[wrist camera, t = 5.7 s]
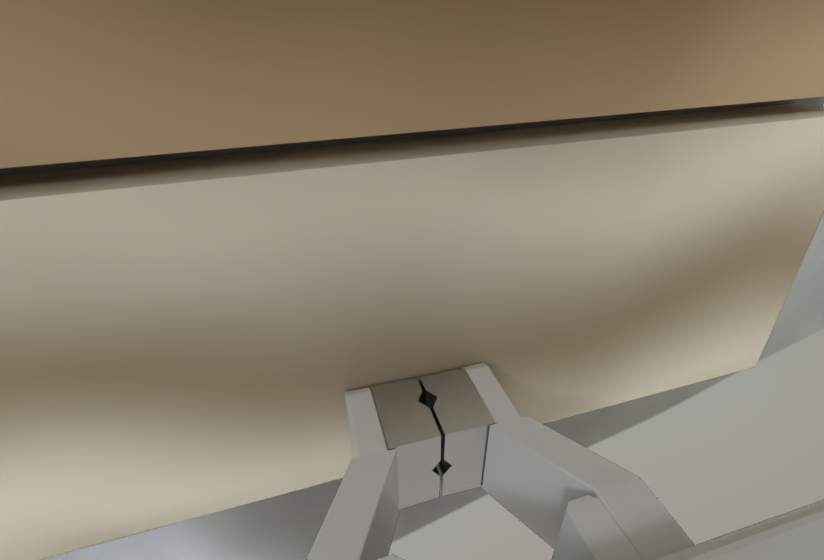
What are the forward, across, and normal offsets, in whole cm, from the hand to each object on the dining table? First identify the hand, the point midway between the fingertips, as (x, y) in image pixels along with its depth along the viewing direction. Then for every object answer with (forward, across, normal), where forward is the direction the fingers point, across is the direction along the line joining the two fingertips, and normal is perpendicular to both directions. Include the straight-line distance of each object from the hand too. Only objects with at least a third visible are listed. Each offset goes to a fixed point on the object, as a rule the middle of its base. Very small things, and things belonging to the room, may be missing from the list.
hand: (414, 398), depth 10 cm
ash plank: (+2, 0, -1) cm, 2 cm away
